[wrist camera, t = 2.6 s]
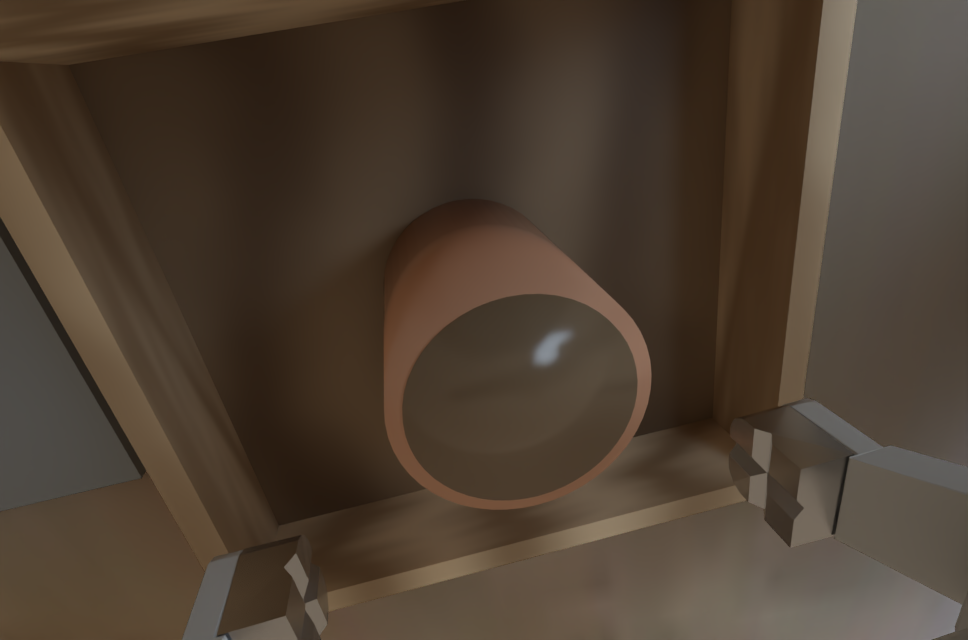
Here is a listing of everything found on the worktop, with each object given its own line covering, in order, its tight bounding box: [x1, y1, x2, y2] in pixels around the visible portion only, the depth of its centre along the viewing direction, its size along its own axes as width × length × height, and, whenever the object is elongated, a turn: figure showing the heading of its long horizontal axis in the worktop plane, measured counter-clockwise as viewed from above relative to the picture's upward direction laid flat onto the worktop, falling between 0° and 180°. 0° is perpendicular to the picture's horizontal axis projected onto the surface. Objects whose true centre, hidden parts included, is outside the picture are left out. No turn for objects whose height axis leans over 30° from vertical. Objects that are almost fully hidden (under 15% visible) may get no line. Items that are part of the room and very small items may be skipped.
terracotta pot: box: [383, 199, 652, 510], centre depth 16 cm, size 6×6×8 cm
